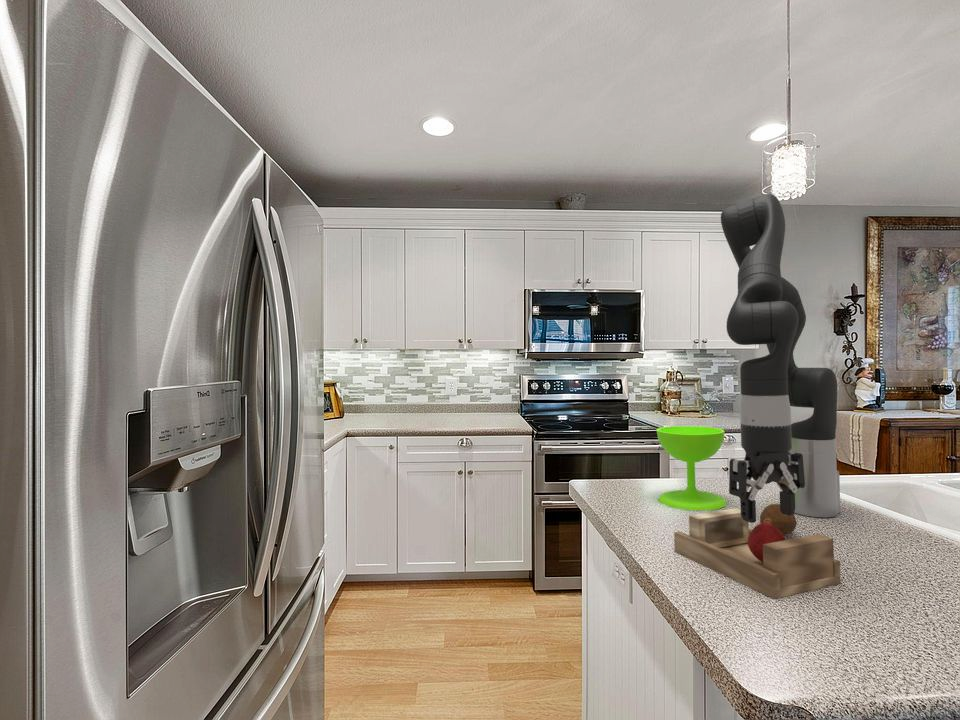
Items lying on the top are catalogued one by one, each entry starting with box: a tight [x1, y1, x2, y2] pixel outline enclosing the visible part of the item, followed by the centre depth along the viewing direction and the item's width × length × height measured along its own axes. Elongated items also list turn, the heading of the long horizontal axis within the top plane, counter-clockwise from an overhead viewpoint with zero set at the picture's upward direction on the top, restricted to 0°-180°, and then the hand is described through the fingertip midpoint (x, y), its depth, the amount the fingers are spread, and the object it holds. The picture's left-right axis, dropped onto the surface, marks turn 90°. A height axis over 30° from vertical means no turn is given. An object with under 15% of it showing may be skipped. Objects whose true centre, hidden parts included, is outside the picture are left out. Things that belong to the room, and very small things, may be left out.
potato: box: [759, 503, 798, 537], centre depth 109 cm, size 7×10×6 cm
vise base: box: [673, 528, 841, 600], centre depth 93 cm, size 14×22×7 cm, turn 20°
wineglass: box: [656, 425, 727, 511], centre depth 135 cm, size 16×16×18 cm
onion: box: [748, 518, 787, 563], centre depth 90 cm, size 6×6×8 cm
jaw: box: [688, 507, 750, 548], centre depth 100 cm, size 12×2×6 cm, turn 110°
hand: (768, 517), depth 90 cm, fingers open, 8 cm apart
